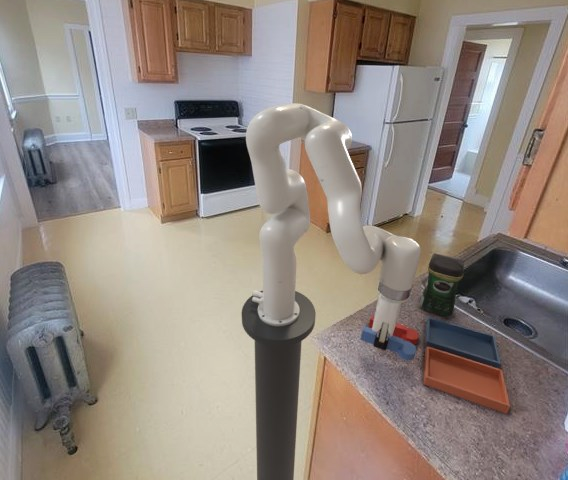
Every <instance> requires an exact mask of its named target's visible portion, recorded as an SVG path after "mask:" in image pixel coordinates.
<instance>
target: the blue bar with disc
mask: <svg viewBox="0 0 568 480" xmlns="http://www.w3.org/2000/svg"><path fill="white" fill-rule="evenodd" d="M380 333H381V331H380ZM376 334H377V332H374V331H373V330H372V328H369V326H365V325H363V327H362V330H361V335H360V341H363V342H365V343H368V344H371V345H373V346H374V341H375V336H376ZM386 335H387V334H386ZM388 338H389V341H388V345H387V349H386V350H388V351H391V352H393V353H396V354H397V356H398V357H399V358H400V359H402V360H404V361H412V360H414V359H415V356H416V354H417V347H416V346H415V344H414V345H413V344H412V343H410V342H408V341H403V339H401V338H398V337H396V336H393V335H392V336H391V337H388Z"/></svg>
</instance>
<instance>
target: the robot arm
mask: <svg viewBox="0 0 568 480" xmlns="http://www.w3.org/2000/svg"><path fill="white" fill-rule="evenodd" d="M295 139H301V140H302V141H304V148H305V153H306V155H307V157H308V160H309V162H310V164H311V167H312V168H313V170H314V173H315V175H316V177H317V180H318V182H319V184H320V186H321V189H322V191H323V194H324V195H325V197H326V201H327V215H328V221H329V228H330V229H329V230H330V232H331V237H332V240H333V242H334V245H335V247H336V249H337V251H338V253H339V255H340V257H341V259H342V261H343V263H344V264H345V266H346V267H347V268H348V269H349V270H351V271H352V272H353V273H356V274H359V275H367V274H369V273H371V272H373V271H374V270H375V269H376V268H377V266H378V265H379V262H380V261H381V265H380V270H379V275H378V279H377V284H376V291H377V294H378V299H377V303H376V308H375V313H374V316H375V317H374V322H373V326H372V330H373V331H374V332H377V334H376V336H375V341H374V345H373V347H374V348H377V349H380V350H382V351H387V350H388V349H387V345H388V341H389V338H388V337H391V336H392V335H393V332H394V329H395V326H396V323H398V319H399V316H400V313H401V308H402V305H403V303H406V302H407V301H408V300H409V299H410V296H411V292H412V289H413V285H414V280H415V277H416V273H417V269H418V266H419V261H420V258H421V254H422V249H421V245H420V244H419V243H418V242H417V241H416V240H414V239H412V238H410V237H406V236H401V235H400V236H398V235H396V234H393V233H391V232H389V231H387V230H385V229H383V228H381V227H379V226H375V225H364V226H363V221H362V217H361V202H362V196H363V186H362V182H361V178H360V176H359V174H358V173H357V170H356V168H355V165H354V163H353V161H352V158H351V157H350V153H349V152H348V150H349V149H350V147H351V145H352V144H353V135H352V132H351V130H350V128H349V127H348V125H346V124H345V123H344V122H342V121H340V120H339V119H336V118H334V117H333V116H330V115H328V114H326V113H324V112H321V111H319V110H317V109H315V108H313V107H311V106H309V105H306V104H303V103H296V102H294V103H287V104H279V105H275V106H270V107H268V108H265V109H263V110H261V111H259V112H258V113H257V114H255V115H254V116H253V117H252V119H251V120H250V121H249V123H248V125H247V127H246V131H245V144H246V148H247V153H248V155H249V158H250V162H251V168H252V174H253V180H254V186H255V191H256V197H257V201H258V205H259V207H260V208H261V210H262V211H263V212H264V213H266V214H268V215H274V216H272V217H270V218H269V219H268V220H267V221H265V223H263V225H262V226H261V228H260V231H259V234H258V240H259V245H260V249H261V256H262V257H261V258H262V290H263V293H261V292H260V291H259V290H256V289H254V290H253V291H252V294H251V296H254V297H253V298H252V301H254V302H257V303H259V306H258V315H259V317H260V319H261V320H262V321H263V322H265V323H266V324H269V325H272V326H286V325H289V324H291V323H293V322H294V321H295V320H296V319H297V318H298V316H299V311H300V310H299V305H298V304H297V302H296V301H295V291H296V283H297V256H296V254H295V251H294V250H295V245H296V244H297V243H298V241H299V240H301V239H302V237H303V236H305V235H306V233H307V232H308V231H309V229H310V228H311V227H310V226H311V210H310V204H309V202H310V201H309V195H308V189H307V184H306V182H305V179H304V177H303V176H302V175H301V174H300V173H299V172H298V171H296V170H295V169H289V168H287V163H286V158H285V156H284V155H285V154H284V153H283V151H282V149H281V148H280V145H282V144H285V143H287V142H290V141H293V140H295ZM256 297H257V298H256ZM258 298H260V299H258ZM380 331H381V333H380ZM386 334H387V335H386Z"/></svg>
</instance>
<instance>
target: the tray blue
mask: <svg viewBox="0 0 568 480" xmlns="http://www.w3.org/2000/svg"><path fill="white" fill-rule="evenodd" d="M424 340H425V341H424V344H425V345H424V348H425V349H426V347H427V346H428V347H431V348H434V349H438V350H441V351H444V352H447V353H450V354H454V355H457V356H460V357H463V358H466V359H470V360H473V361H476V362H479V363H482V364H485V365H489V366H492V367H495V368H498V369H501V365H502V363H501V358H500V353H499V350H498V349H499V347H498V343H497V340H496V336H495V335H494V334H491V333H487V332H484V331H480V330H476V329H474V328H469V327H467V326H462V325H459V324H455V323H451V322H449V321H444V320H441V319H438V318H434V317H430V316H427V317H426V322H425V339H424Z"/></svg>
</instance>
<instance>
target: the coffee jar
mask: <svg viewBox="0 0 568 480" xmlns="http://www.w3.org/2000/svg"><path fill="white" fill-rule="evenodd" d="M464 268H465V263H464V260H463V259H460V258H457V257H453V256H449V255H444V254H439V253H435V252H434V253H433V254H432V256H431V258H430V260H429V262H428V265H427V270H428V275H427V279H426V283H425V286H424V289H423V291H422V294H421V297H420V307H421V308H422V310H424V311H425V312H427V313H429V314H433V315H436V316H440V317H444V318H448V317H452V315H454V311H455V303H456V298H457V296H456V295H457V289H458V285H459V282H460V281H461V280H462V279H463V277H464V272H465V271H464V270H465V269H464Z"/></svg>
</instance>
